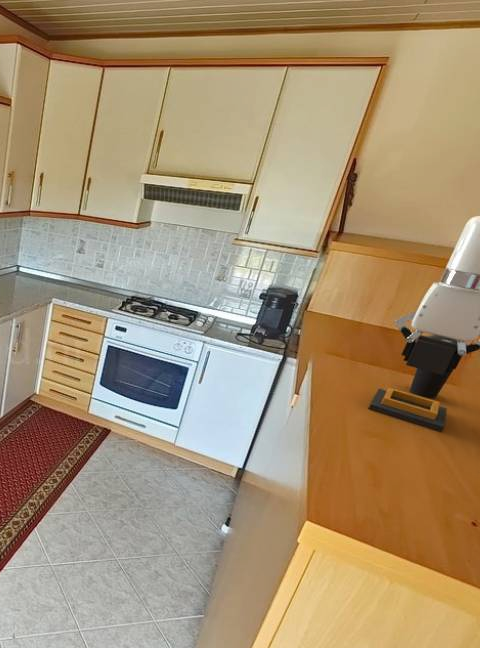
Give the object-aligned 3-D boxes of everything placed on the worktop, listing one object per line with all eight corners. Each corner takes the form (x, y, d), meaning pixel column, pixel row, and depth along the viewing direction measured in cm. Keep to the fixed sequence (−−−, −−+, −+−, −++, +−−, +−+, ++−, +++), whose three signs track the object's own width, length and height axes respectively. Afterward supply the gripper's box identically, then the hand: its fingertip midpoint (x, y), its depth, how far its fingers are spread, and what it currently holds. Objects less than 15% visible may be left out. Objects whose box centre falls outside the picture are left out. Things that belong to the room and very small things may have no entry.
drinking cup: (450, 404, 112) (491, 321, 105) (410, 396, 115) (448, 315, 108) (434, 391, 119) (472, 313, 112) (396, 384, 122) (431, 307, 114)
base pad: (441, 432, 97) (447, 420, 96) (368, 408, 105) (373, 397, 104) (444, 413, 107) (449, 402, 106) (376, 393, 115) (381, 382, 114)
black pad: (443, 375, 98) (456, 349, 96) (405, 365, 102) (417, 340, 100) (444, 368, 103) (456, 343, 101) (408, 358, 107) (419, 335, 105)
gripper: (527, 290, 93) (481, 375, 100) (412, 270, 104) (377, 348, 111) (530, 294, 88) (482, 384, 94) (408, 273, 99) (373, 355, 105)
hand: (426, 364), depth 102 cm, fingers closed on black pad, 6 cm apart
